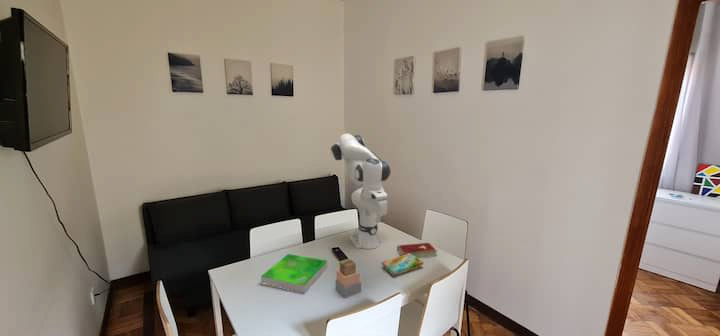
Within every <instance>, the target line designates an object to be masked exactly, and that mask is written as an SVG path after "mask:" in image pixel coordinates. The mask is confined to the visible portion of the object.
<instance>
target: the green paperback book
mask: <svg viewBox="0 0 720 336" xmlns="http://www.w3.org/2000/svg"><path fill="white" fill-rule="evenodd" d="M327 269H328V260H326V259H321V258H314V257H310V256H309V257H308V256H303V255H296V254H292V253H287V254H286V255H285V256H284V257H282V258H281V259H280V260H279V261H277V263H276V264H275V263H274V265H272V267H271V268H269V269H268V270H267V271H265V272H264V273H263V274H262V275H261V276H260V281H261V282H260V283H266V284H269V285H274V286H277V287H281V288H285V289H289V290H288V291H290V290H293V291H292V292H295V291H297V292H296V293H299V292H301V293H300V294H304V293H306V294H307V292H308V291H309V290H311V288H312V287H313V286H314V284H315V283H316V282H317V280H319V278H320V277H321V276H322V275H323V273H325V271H326V270H327ZM311 286H312V287H311ZM310 287H311V288H310ZM285 289H284V290H285Z"/></svg>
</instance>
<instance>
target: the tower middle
mask: <svg viewBox="0 0 720 336" xmlns="http://www.w3.org/2000/svg"><path fill="white" fill-rule="evenodd" d="M336 279H337V280H338V281H339V282H340V284H341V285H342V286H343V287H344V288H345V287H348V286H351V285H354V284H357V283H359V281H360V273H359V272H358V271H357V270H356V273H353V274H351V275H348V276H345V275H344V274H343V273H342V272H340V268H339V269H337V270H336Z"/></svg>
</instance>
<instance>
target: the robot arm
mask: <svg viewBox="0 0 720 336" xmlns="http://www.w3.org/2000/svg"><path fill="white" fill-rule="evenodd" d="M365 143H366V142H365V139H364V138H363V137H362V136H361V135H359V134H356V135H352V134H351V133H343V134H342V135H340V136H339V139H338V142H337V143H333V145H331V147H330V154H331V156H332V158H333V159H335V161H342V160H344V161H343V162H344V164H345V167H346V170H347V173H348V174H349V177H350V178H351V180H352V183H354V184H355V185H357V186H359V187H360V188H358V189H356V190H354V191H353V192H352V194H351V197H350V198H351V201H352V204H353V205H354V206H356V207H357V209H358V211H359V222H358V224H357V225H358V228H356V229H355V230H353V234H352V236H350V237H349V240H350V241H351V243H352V244H353V245H354V247H355V248H358V249H367V250H372V249H376V248H378V247H379V246H380V243H381V241H382V240H381V239H380V231H379V229H378V227H379V226H378V223H381V218H382V217H383V216H386V215H387V214H388V200H387V199H388V197H389V196H388V193H387V192H385V189H384V187H383V186H382V182H386V181H387V180H388V178H389V177H390V176H391V168H390V166H389V164H388V163H387V162H386V161H385V160H382V159H381V158H380V157H379V156H377V154H376V153H374V152H373V151H372V150H371V149H369V148H368V147H366V145H365Z"/></svg>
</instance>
